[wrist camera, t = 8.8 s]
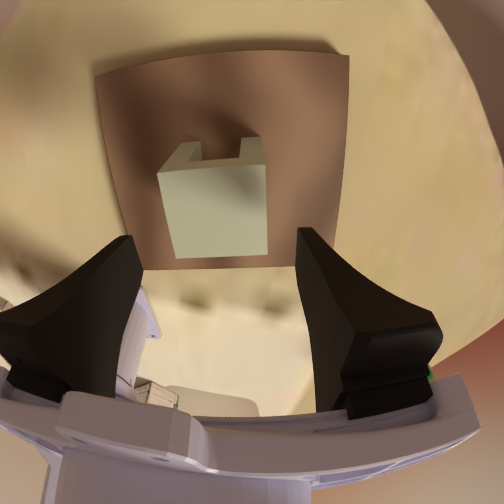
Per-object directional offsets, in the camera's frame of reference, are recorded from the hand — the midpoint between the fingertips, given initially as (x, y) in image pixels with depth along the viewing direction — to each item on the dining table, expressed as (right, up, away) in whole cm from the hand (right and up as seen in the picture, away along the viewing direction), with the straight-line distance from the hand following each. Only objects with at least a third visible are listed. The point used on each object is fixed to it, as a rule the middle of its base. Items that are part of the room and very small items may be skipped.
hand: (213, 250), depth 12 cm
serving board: (0, +6, +7) cm, 9 cm away
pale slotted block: (0, +5, +6) cm, 8 cm away
